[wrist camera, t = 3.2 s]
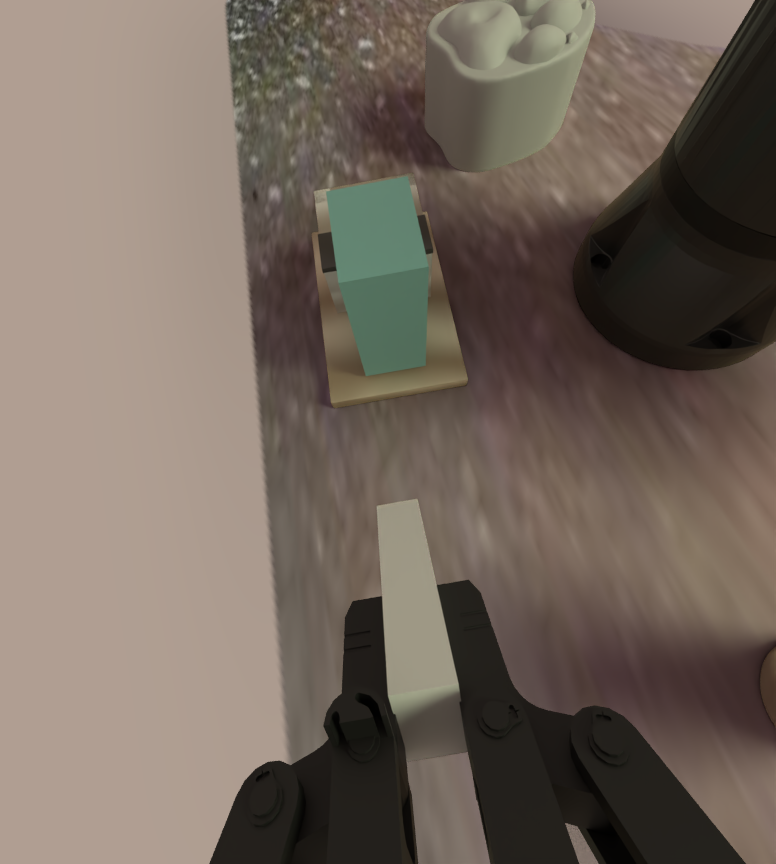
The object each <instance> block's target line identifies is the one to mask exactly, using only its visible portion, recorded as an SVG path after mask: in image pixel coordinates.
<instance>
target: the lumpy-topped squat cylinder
mask: <svg viewBox="0 0 776 864" xmlns="http://www.w3.org/2000/svg"><path fill="white" fill-rule="evenodd" d="M594 23H595V7H594V4H593V2H592V1H591V0H465V1H463V2H461V3H458V4H456V5H453V6H451V7H449V8H447V9H445V10H443V11H442V12H440V13H438V14H437V15H436V16H435V17H434V18H433V19H432V20H431V22H430V24H429V26H428V28H427V32H426V61H425V129H426V131H427V133H428V134H429V135H430V136H431V137H432V138H433V139H434V140H435V141H436V142H437V143H438V144H439V145H440V147H441V148H442V150H443V152H444V155H445V157H446V159H447V161H448V162H449V163H450V164H451V165H452V166H453V167H454V168H456V169H458V170H461V171H465V172H484V171H488V170H492V169H495V168H498V167H501V166H504V165H507V164H510V163H513V162H516V161H518V160H520V159H523V158H525V157H527V156H529V155H532V154H534V153H536V152H537V151H539V150H541V149H543V148H544V147H545V146H546V145H547V144H548V143H549V142H550V141H551V140H552V139H553V138H554V136H555V135H556V134H557V132H558V131H559V129H560V128H561V126H562V123H563V120H564V117H565V114H566V111H567V108H568V105H569V102H570V99H571V96H572V93H573V90H574V87H575V84H576V81H577V78H578V75H579V71H580V68H581V65H582V62H583V59H584V56H585V53H586V50H587V47H588V44H589V41H590V38H591V34H592V31H593V28H594Z"/></svg>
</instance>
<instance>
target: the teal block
mask: <svg viewBox="0 0 776 864" xmlns="http://www.w3.org/2000/svg"><path fill="white" fill-rule="evenodd" d="M326 196H327V203H328V210H329V218H330V225H331V232H332V239H333V247H334V254H335V261H336V269H337V276H338V283H339V287H340V290H341V293H342V297H343V300H344V304H345V307H346V310H347V314H348V317H349V321H350V324H351V327H352V331H353V334H354V338H355V341H356V344H357V348H358V351H359V355H360V358H361V361H362V365H363V368H364V372H365V375H366V376H370V375H376V374H382V373H387V372H393V371H399V370H404V369H410V368H416V367H422V366H426V339H427V307H428V276H429V266H428V261H427V257H426V253H425V248H424V244H423V240H422V235H421V231H420V227H419V223H418V218H417V214H416V210H415V205H414V201H413V197H412V192H411V188H410V184H409V180H408V176H405V177H400V178H395V179H389V180H384V181H379V182H373V183H368V184H363V185H357V186H352V187H347V188H341V189H336V190H331V191H326Z"/></svg>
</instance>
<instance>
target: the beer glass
mask: <svg viewBox="0 0 776 864" xmlns="http://www.w3.org/2000/svg"><path fill="white" fill-rule="evenodd" d="M760 691H761V696H762V700H763V703H764V706H765V709H766V711H767V713H768V715H769V717H770V719H771V721H772V722H773V724H774V725H775V727H776V647H774V648H773V649H772V650H771V651H770V652H769V654H768V655H767V656H766V658H765V660H764V662H763V665H762V668H761V673H760Z"/></svg>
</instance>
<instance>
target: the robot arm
mask: <svg viewBox="0 0 776 864" xmlns="http://www.w3.org/2000/svg"><path fill="white" fill-rule="evenodd" d="M573 279H574V287H575V292H576V295H577V298H578V301H579V303H580V305H581V307H582V309H583V311H584V313H585V314H586V316H587V318H588V319H589V320H590V322H591V323H592V324H593V325H594V326H595V328H596V329H597V330H598V331H599V332H600V333H601V334H602V335H603V336H605V337H606V338H607V339H608V340H609V341H611V342H612V343H613V344H615V345H616V346H618V347H619V348H621V349H622V350H624V351H626V352H628V353H629V354H631V355H633V356H635V357H638V358H640V359H642V360H645V361H648V362H651V363H654V364H657V365H661V366H665V367H670V368H676V369H684V370H706V369H715V368H721V367H725V366H729V365H732V364H735V363H738V362H740V361H743V360H745V359H747V358H749V357H750V356H752V355H754V354H756V353H757V352H759V351H760V350H762V349H764V348H765V347H767V346H769V345H770V344H772V343H773V342H775V341H776V0H755V1H754V3H753V5H752V6H751V8H750V10H749V11H748V13H747V15H746V16H745V18H744V20H743V21H742V23H741V25H740V26H739V28H738V30H737V31H736V33H735V34H734V36H733V38H732V39H731V41H730V43H729V44H728V46H727V48H726V49H725V51H724V52H723V54H722V56H721V57H720V59H719V61H718V62H717V64H716V66H715V67H714V69H713V70H712V72H711V74H710V75H709V77H708V79H707V80H706V82H705V84H704V85H703V87H702V88H701V90H700V92H699V93H698V95H697V97H696V98H695V100H694V102H693V103H692V105H691V107H690V108H689V110H688V111H687V113H686V115H685V116H684V118H683V120H682V121H681V123H680V125H679V127H678V128H677V130H676V132H675V133H674V135H673V137H672V138H671V140H670V142H669V143H668V145H667V147H666V148H665V150H664V151H663V153H662V155H661V156H660V157H659V158H658V159H657V160H656V161H654V162H653V163H652V164H651V165H650V166H649V167H648V168H647V169H646V170H645V171H644V172H643V173H642V174H641V175H640V176H639V177H638V178H637V179H636V180H635V181H634V182H633V183H632V184H631V185H630V186H629V187H628V188H626V189H625V190H624V191H623V192H622V193H621V194H620V195H619V196H618V197H617V198H616V199H615V200H614V201H613V202H612V203H611V204H610V205H609V206H608V207H607V208H606V209H605V210H604V211H603V212H602V213H601V214H600V215H599V217H598V218H597V219H596V221H595V222H594V223H593V225H592V226H591V228H590V230H589V232H588V234H587V236H586V237H585V239H584V241H583V243H582V245H581V247H580V249H579V251H578V254H577V256H576V259H575V264H574V271H573ZM377 520H378V536H379V553H380V570H381V587H382V596H380V597H374V598H369V599H363V600H357V601H353V602H352V604H351V606H350V608H349V610H348V612H347V615H346V617H345V632H344V635H345V638H344V655H343V678H342V694H341V695H339V696H338V697H337V698H336V699H335V700H334V701H333V703H332V704H331V706H330V708H329V709H328V711H327V713H326V717H325V721H324V728H325V731H326V733H327V735H328V737H329V739H328V740H327V741H326V742H325V743H324V745H322V746H321V747H320V748H318V749H317V750H316V751H314V752H313V753H311V754H309V755H307V756H306V757H304V758H302V759H301V760H299V761H297V762H295V763H294V764H292V765H289V764H286V763H284V762H282V761H272V762H267V763H265V764H263V765H262V766H260V767H258V768H257V769H255V770H254V771H253V773H252V774H251V775H250V776H249V777H248V778H247V779H246V780H245V781H244V783H243V785H242V787H241V789H240V791H239V792H238V794H237V796H236V798H235V801H234V803H233V806H232V809H231V811H230V813H229V816H228V818H227V821H226V824H225V826H224V828H223V831H222V834H221V836H220V839H219V841H218V843H217V846H216V848H215V851H214V853H213V856H212V858H211V861H210V864H418V857H417V846H416V835H415V825H414V814H413V804H412V794H411V790H410V786H409V782H408V774H407V762H411V761H417V760H423V759H428V758H434V757H440V756H446V755H452V754H458V753H464V752H468V755H469V759H470V764H471V769H472V774H473V780H474V787H475V793H476V800H477V801H478V806H479V810H480V815H481V820H482V825H483V830H484V834H485V839H486V844H487V849H488V854H489V859H490V863H491V864H579V862H578V859H577V856H576V853H575V851H574V848H573V845H572V842H571V839H570V836H569V833H568V831H567V828H566V825H565V823H568V824H571V825H575V826H578V828H579V829H580V831H581V833H582V835H583V837H584V838H585V840H586V842H587V844H588V845H589V847H590V849H591V851H592V852H593V854H594V856H595V858H596V859H597V861H598V863H599V864H746V863H745V862H744V861H743V859H742V858H741V857H740V856H739V855H738V853H737V852H736V851H735V850H734V848H733V847H732V846H731V845H730V843H729V842H728V841H727V840H726V839H725V837H724V836H723V835H722V834H721V832H720V831H719V830H718V829H717V827H716V826H715V825H714V824H713V823H712V821H711V820H710V819H709V818H708V816H707V815H706V814H705V813H704V811H703V810H702V809H701V808H700V807H699V805H698V804H697V803H696V802H695V800H694V799H693V798H692V797H691V795H690V794H689V793H688V792H687V791H686V789H685V788H684V787H683V786H682V784H681V783H680V782H679V781H678V780H677V778H676V777H675V776H674V775H673V773H672V772H671V771H670V770H669V768H668V767H667V766H666V765H665V764H664V762H663V761H662V760H661V759H660V757H659V756H658V755H657V754H656V752H655V751H654V750H653V749H652V748H651V746H650V745H649V744H648V743H647V741H646V740H645V739H644V738H643V736H642V735H641V734H640V733H639V732H638V730H637V729H636V728H635V727H634V726H633V725H632V724H631V723H630V722H629V721H628V720H627V719H626V718H625V717H624V716H622V715H620V714H618V713H617V712H615V711H613V710H611V709H609V708H605V707H600V706H590V707H586V708H582V709H581V710H580V711H579V712H578V713H577V714H576V715H574V716H572V715H567V714H562V713H557V712H552V711H548V710H544V709H541V708H538V707H536V706H535V705H533V704H531V703H529V702H528V701H527V700H526V699H524V698H523V697H522V696H521V695H520V694H519V693H518V691H517V690H516V689H515V687H514V686H513V684H512V681H511V679H510V677H509V674H508V671H507V668H506V665H505V663H504V660H503V657H502V654H501V651H500V648H499V645H498V642H497V639H496V636H495V633H494V631H493V628H492V626H491V622H490V619H489V616H488V613H487V611H486V607H485V604H484V601H483V599H482V596H481V593H480V592H479V591H478V589H477V588H476V587H475V586H474V585H473V584H472V583H471V582H470V581H469V580H465V581H459V582H454V583H448V584H442V585H436V580H435V576H434V571H433V567H432V562H431V558H430V553H429V549H428V544H427V540H426V535H425V531H424V526H423V522H422V517H421V513H420V508H419V504H418V499H412V500H407V501H401V502H396V503H390V504H385V505H379V506H377ZM406 759H407V762H406Z"/></svg>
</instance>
